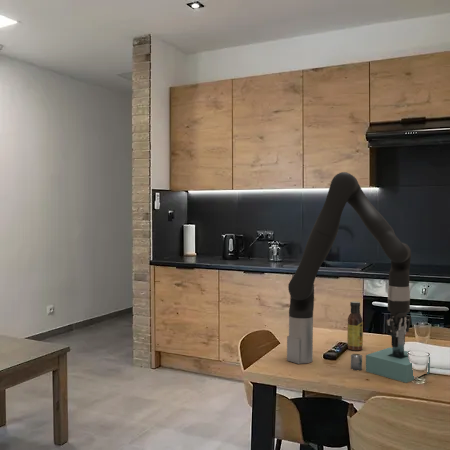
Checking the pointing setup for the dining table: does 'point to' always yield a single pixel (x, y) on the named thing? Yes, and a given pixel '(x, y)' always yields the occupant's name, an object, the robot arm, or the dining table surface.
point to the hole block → (391, 365)
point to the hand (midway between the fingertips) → (398, 345)
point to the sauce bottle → (355, 327)
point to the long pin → (399, 344)
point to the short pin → (356, 361)
